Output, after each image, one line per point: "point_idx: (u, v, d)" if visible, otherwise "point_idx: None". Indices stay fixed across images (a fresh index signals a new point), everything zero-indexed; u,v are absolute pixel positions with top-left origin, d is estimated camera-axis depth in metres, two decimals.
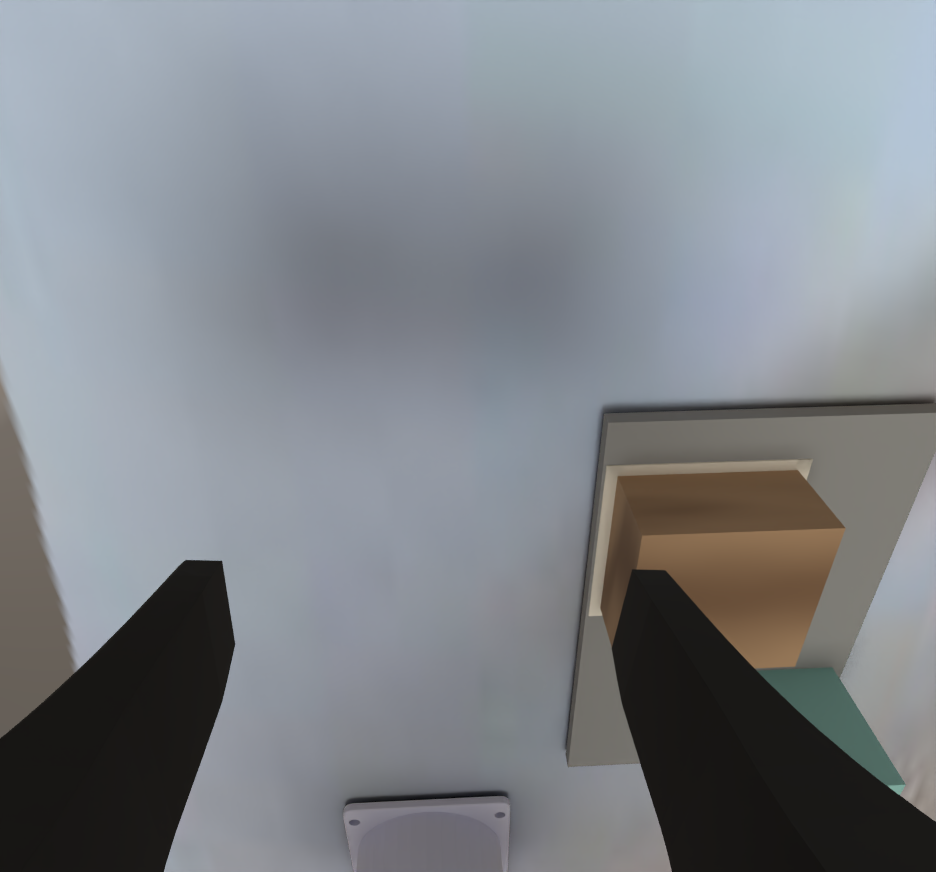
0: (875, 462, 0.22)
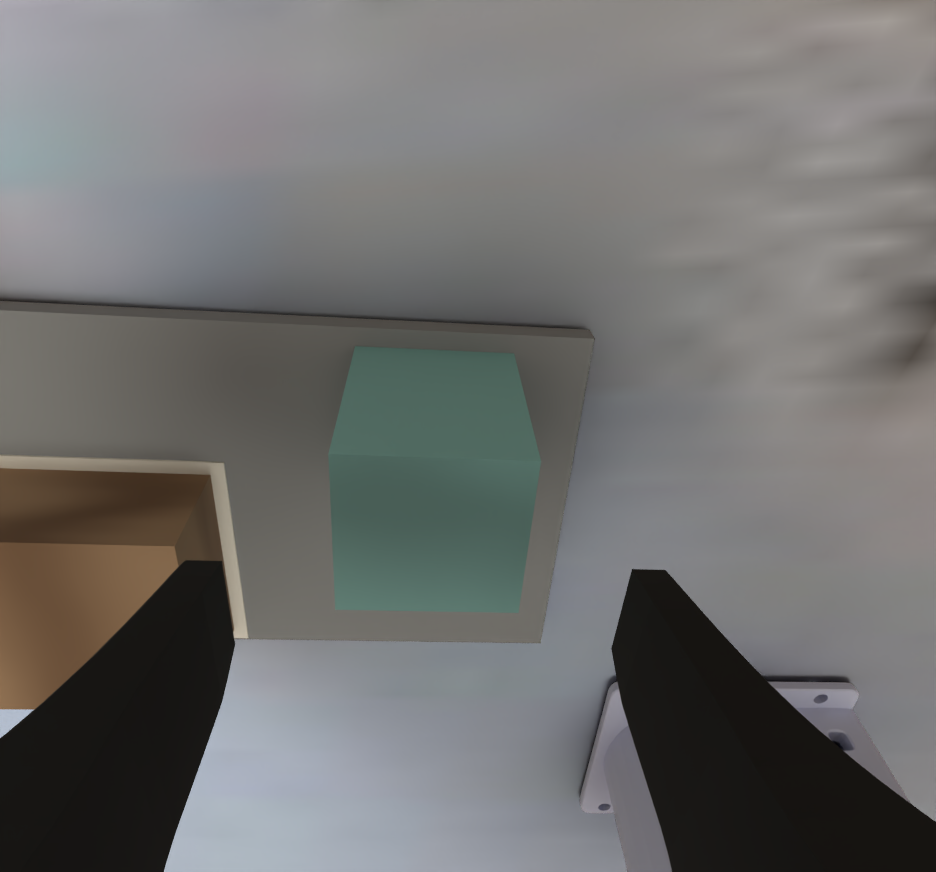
0: None
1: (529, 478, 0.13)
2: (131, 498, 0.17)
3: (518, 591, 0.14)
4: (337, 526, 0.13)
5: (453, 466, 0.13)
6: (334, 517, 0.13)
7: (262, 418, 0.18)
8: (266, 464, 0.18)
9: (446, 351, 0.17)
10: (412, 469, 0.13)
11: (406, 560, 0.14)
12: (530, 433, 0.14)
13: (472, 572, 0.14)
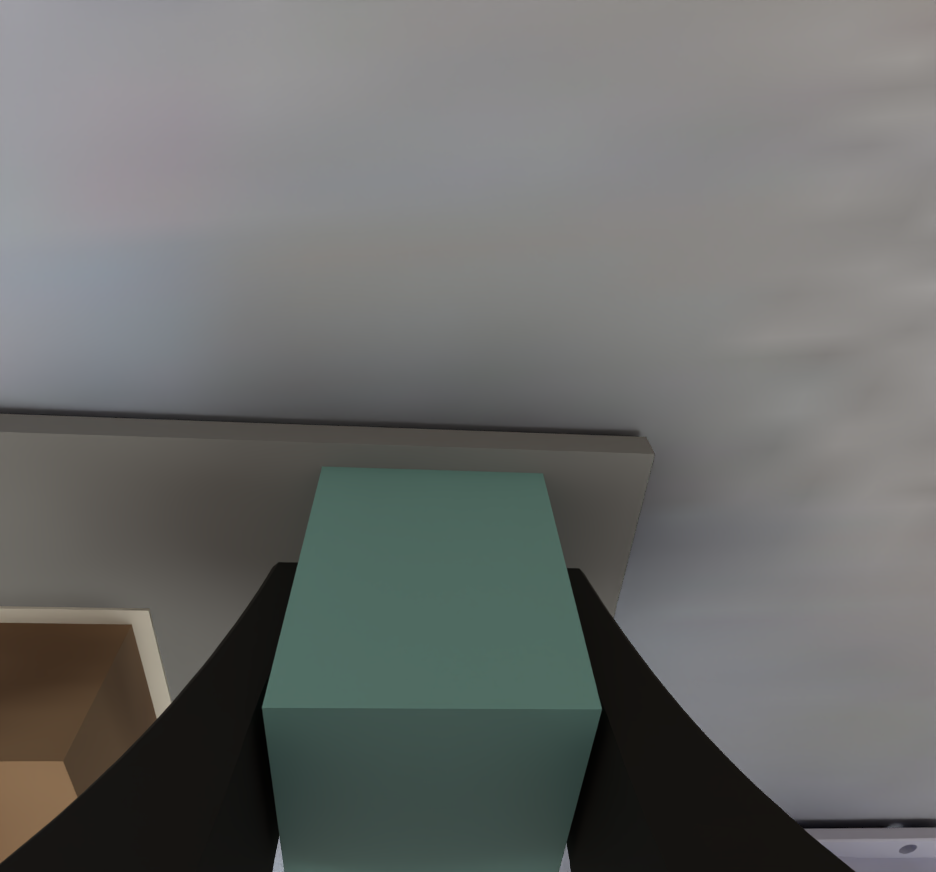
0: None
1: (582, 729, 0.08)
2: (16, 670, 0.13)
3: (557, 857, 0.10)
4: (283, 793, 0.09)
5: (462, 718, 0.08)
6: (277, 783, 0.09)
7: (198, 556, 0.13)
8: (207, 610, 0.14)
9: (449, 472, 0.12)
10: (397, 723, 0.08)
11: (390, 829, 0.09)
12: (578, 642, 0.09)
13: (490, 840, 0.09)
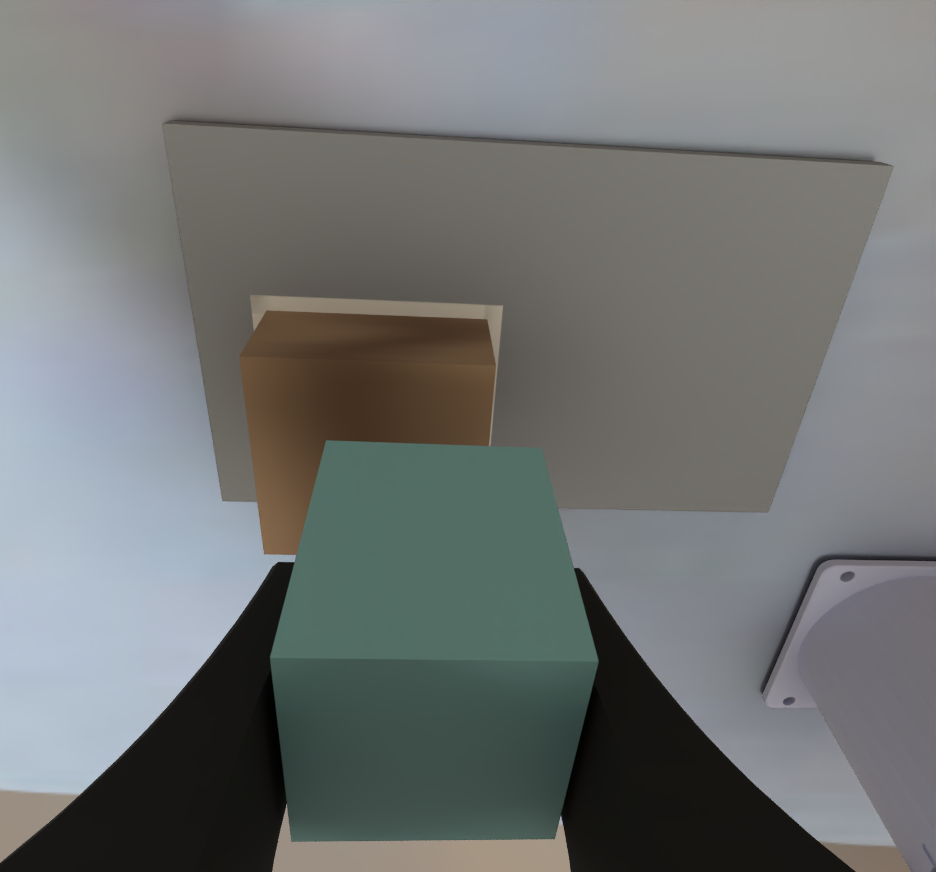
0: (250, 210, 0.17)
1: (579, 682, 0.09)
2: (426, 333, 0.17)
3: (555, 815, 0.10)
4: (289, 746, 0.09)
5: (463, 669, 0.08)
6: (284, 735, 0.09)
7: (550, 256, 0.18)
8: (543, 308, 0.19)
9: (450, 446, 0.12)
10: (401, 675, 0.08)
11: (393, 783, 0.09)
12: (576, 601, 0.09)
13: (490, 796, 0.10)
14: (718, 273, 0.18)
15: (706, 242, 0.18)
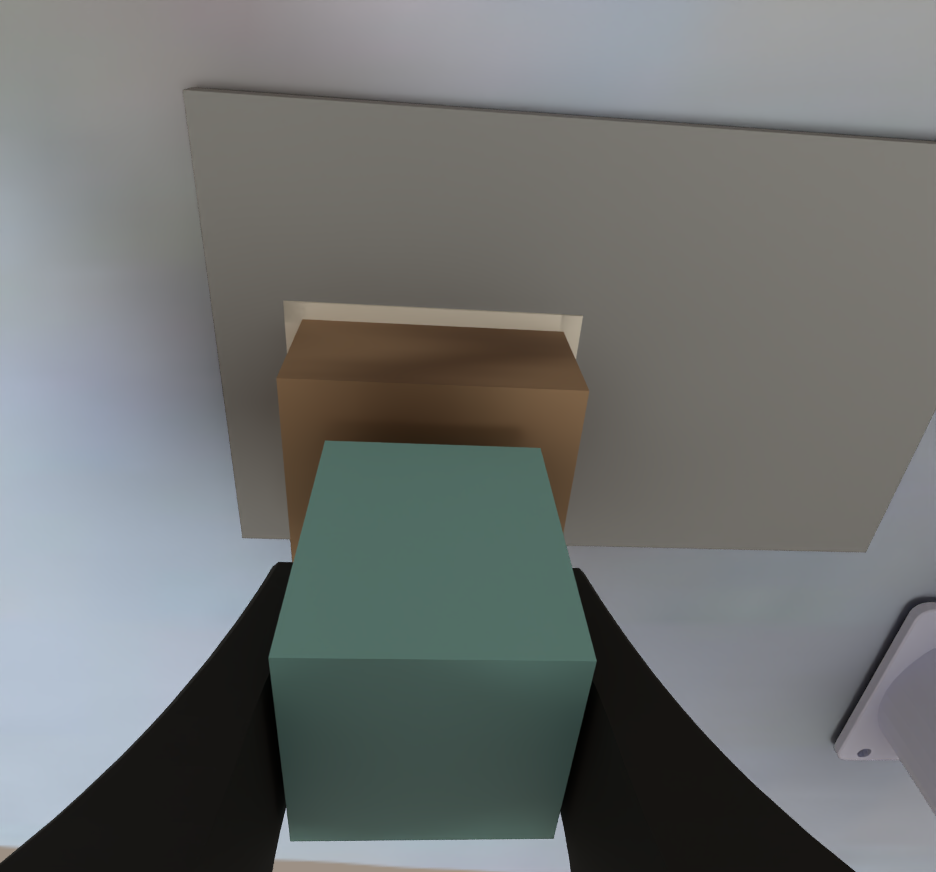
0: (287, 198, 0.14)
1: (577, 682, 0.09)
2: (497, 349, 0.15)
3: (554, 815, 0.10)
4: (287, 745, 0.09)
5: (462, 669, 0.08)
6: (282, 735, 0.09)
7: (643, 257, 0.15)
8: (630, 319, 0.16)
9: (449, 446, 0.12)
10: (400, 674, 0.08)
11: (391, 784, 0.09)
12: (575, 601, 0.09)
13: (488, 795, 0.10)
14: (839, 280, 0.15)
15: (829, 243, 0.15)
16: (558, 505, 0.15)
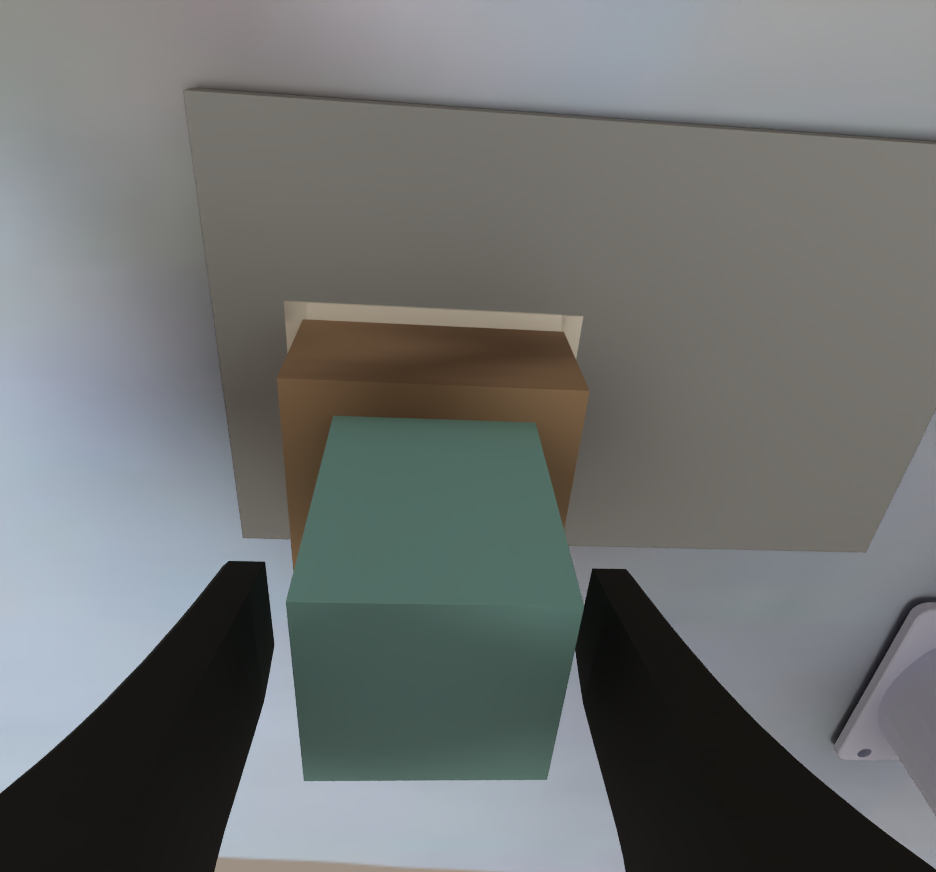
0: (288, 198, 0.14)
1: (566, 626, 0.09)
2: (497, 349, 0.15)
3: (547, 756, 0.11)
4: (302, 687, 0.10)
5: (461, 614, 0.09)
6: (298, 677, 0.10)
7: (643, 257, 0.15)
8: (630, 319, 0.16)
9: (449, 421, 0.13)
10: (404, 619, 0.09)
11: (398, 724, 0.10)
12: (565, 555, 0.10)
13: (487, 737, 0.11)
14: (839, 280, 0.15)
15: (829, 243, 0.15)
16: (558, 505, 0.15)
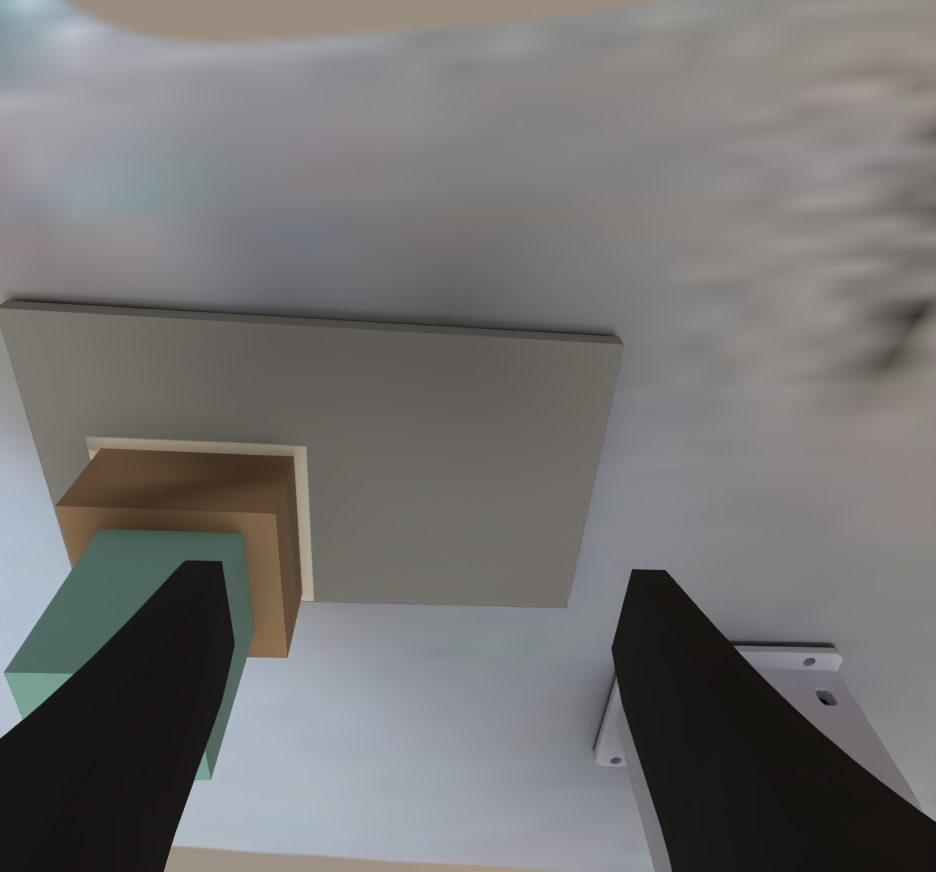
0: (78, 372, 0.20)
1: None
2: (231, 475, 0.21)
3: (205, 764, 0.17)
4: None
5: None
6: (24, 715, 0.16)
7: (341, 408, 0.21)
8: (342, 448, 0.22)
9: (181, 533, 0.19)
10: None
11: None
12: None
13: None
14: (489, 423, 0.21)
15: (474, 399, 0.21)
16: (274, 586, 0.21)
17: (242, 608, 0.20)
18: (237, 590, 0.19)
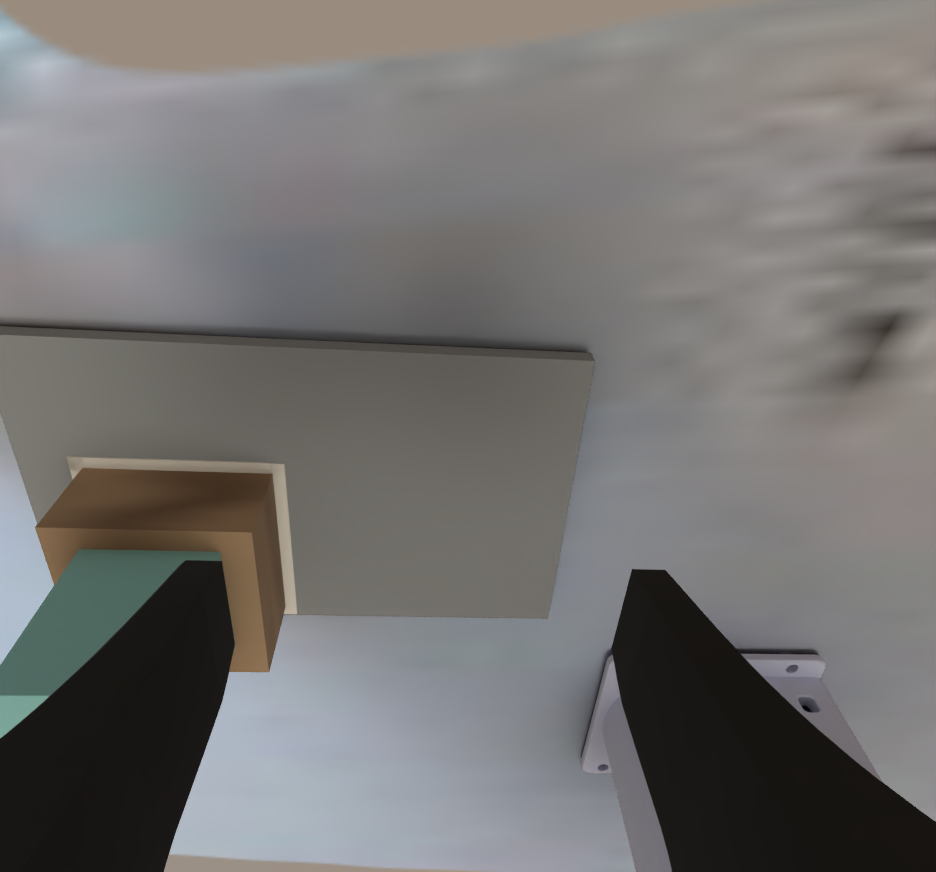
0: (57, 395, 0.20)
1: None
2: (210, 493, 0.21)
3: None
4: None
5: None
6: (1, 736, 0.16)
7: (318, 426, 0.21)
8: (320, 465, 0.22)
9: (159, 552, 0.20)
10: None
11: None
12: None
13: None
14: (464, 439, 0.22)
15: (449, 416, 0.21)
16: (253, 602, 0.21)
17: None
18: None
